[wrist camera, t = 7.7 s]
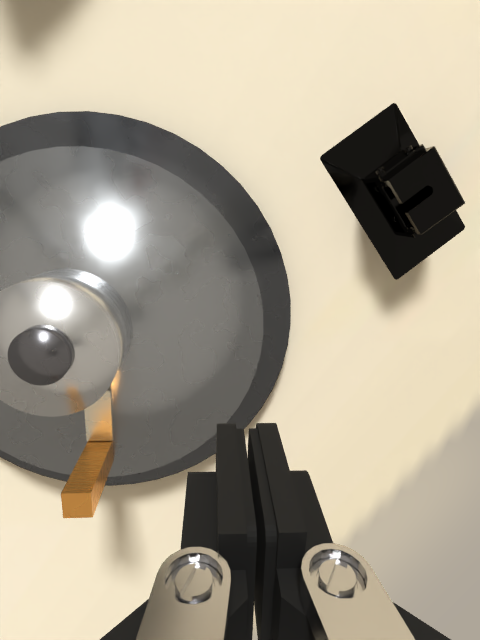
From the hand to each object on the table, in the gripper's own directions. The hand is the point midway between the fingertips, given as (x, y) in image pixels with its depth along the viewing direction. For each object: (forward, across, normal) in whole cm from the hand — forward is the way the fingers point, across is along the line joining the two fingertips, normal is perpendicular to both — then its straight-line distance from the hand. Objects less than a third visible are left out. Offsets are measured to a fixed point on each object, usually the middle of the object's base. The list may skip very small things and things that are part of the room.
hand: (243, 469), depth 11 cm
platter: (+15, +8, 0) cm, 17 cm away
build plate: (+17, -10, -8) cm, 22 cm away
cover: (+13, +9, 0) cm, 16 cm away
